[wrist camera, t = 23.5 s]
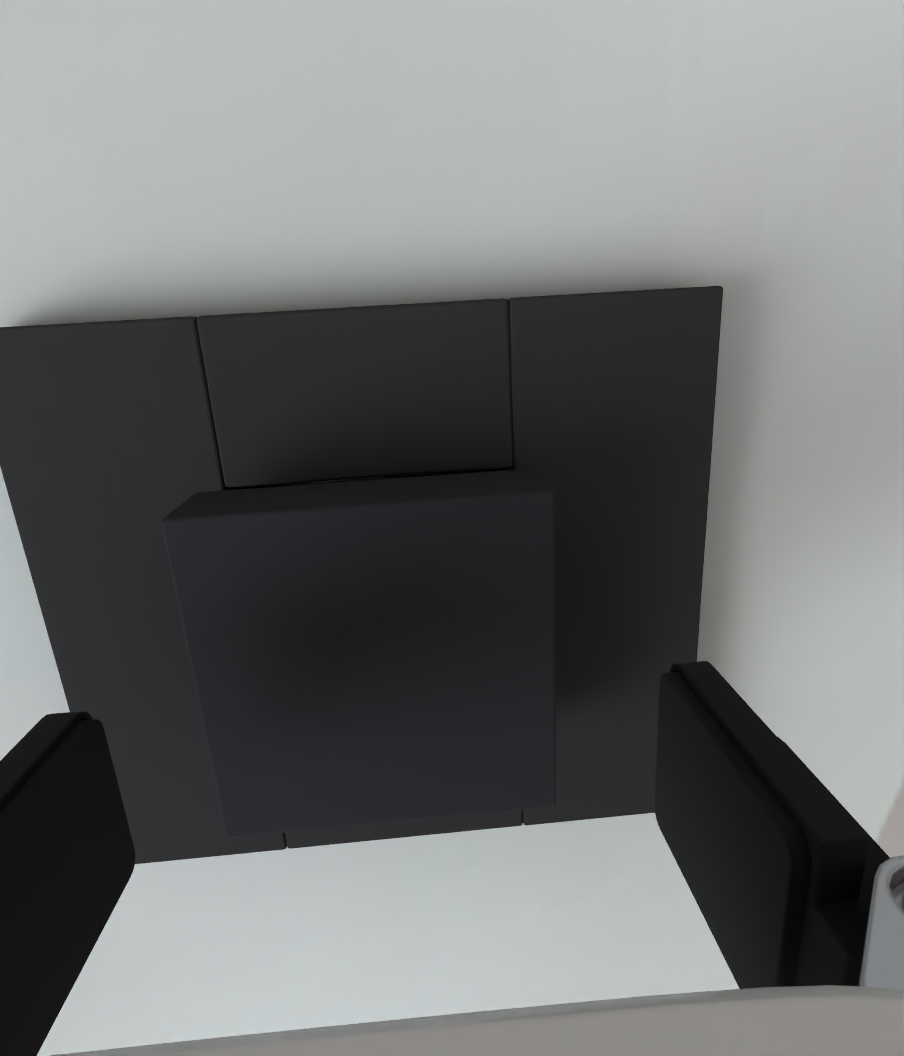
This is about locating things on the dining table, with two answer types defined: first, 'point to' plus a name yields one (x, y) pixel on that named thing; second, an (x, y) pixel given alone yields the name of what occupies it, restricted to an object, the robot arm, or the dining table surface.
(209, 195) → the dining table surface
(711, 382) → the base pad
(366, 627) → the plug pad
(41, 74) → the dining table surface
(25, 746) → the robot arm
